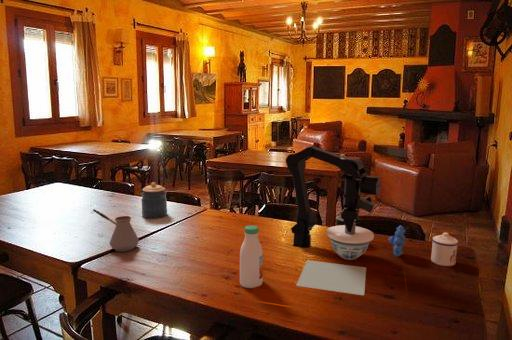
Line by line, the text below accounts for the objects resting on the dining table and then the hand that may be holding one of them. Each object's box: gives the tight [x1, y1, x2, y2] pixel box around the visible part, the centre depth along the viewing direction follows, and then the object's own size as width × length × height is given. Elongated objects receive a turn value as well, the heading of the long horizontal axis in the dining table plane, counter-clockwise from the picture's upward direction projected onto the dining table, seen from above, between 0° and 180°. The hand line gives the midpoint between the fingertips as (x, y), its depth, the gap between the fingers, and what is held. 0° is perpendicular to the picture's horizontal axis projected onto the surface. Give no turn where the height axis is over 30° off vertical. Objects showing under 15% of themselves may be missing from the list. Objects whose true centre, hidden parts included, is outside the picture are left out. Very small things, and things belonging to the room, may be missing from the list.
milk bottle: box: [239, 225, 264, 289], centre depth 136 cm, size 8×8×20 cm
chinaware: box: [329, 238, 370, 261], centre depth 160 cm, size 15×15×8 cm
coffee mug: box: [335, 215, 357, 226], centre depth 181 cm, size 12×9×10 cm
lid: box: [325, 222, 375, 244], centre depth 159 cm, size 18×18×5 cm
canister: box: [140, 181, 168, 219], centre depth 212 cm, size 13×13×18 cm
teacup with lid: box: [430, 232, 459, 267], centre depth 158 cm, size 12×9×12 cm
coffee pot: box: [90, 208, 140, 253], centre depth 169 cm, size 21×12×15 cm, turn 69°
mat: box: [295, 259, 367, 296], centre depth 143 cm, size 22×22×1 cm
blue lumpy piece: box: [387, 225, 407, 258], centre depth 163 cm, size 12×7×12 cm, turn 152°
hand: (349, 230), depth 159 cm, fingers closed on lid, 4 cm apart
